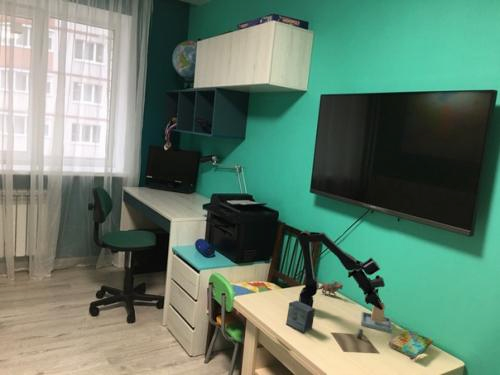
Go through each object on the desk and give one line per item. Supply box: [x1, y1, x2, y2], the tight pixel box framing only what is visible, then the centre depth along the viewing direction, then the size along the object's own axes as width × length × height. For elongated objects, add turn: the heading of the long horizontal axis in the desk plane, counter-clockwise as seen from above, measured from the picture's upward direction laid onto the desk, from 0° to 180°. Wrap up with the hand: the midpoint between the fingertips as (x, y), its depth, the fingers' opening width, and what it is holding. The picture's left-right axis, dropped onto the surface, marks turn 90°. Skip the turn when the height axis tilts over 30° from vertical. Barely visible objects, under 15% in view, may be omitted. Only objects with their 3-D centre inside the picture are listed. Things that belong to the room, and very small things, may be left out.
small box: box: [285, 300, 316, 335], centre depth 184 cm, size 11×6×10 cm, turn 47°
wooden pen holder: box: [371, 301, 386, 323], centre depth 197 cm, size 7×5×8 cm
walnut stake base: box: [330, 328, 381, 355], centre depth 175 cm, size 16×16×5 cm
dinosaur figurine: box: [318, 280, 344, 298], centre depth 230 cm, size 14×6×9 cm, turn 75°
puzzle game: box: [388, 329, 434, 361], centre depth 179 cm, size 12×5×20 cm
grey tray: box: [360, 311, 393, 334], centre depth 198 cm, size 14×14×2 cm
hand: (381, 307), depth 197 cm, fingers closed on wooden pen holder, 5 cm apart
